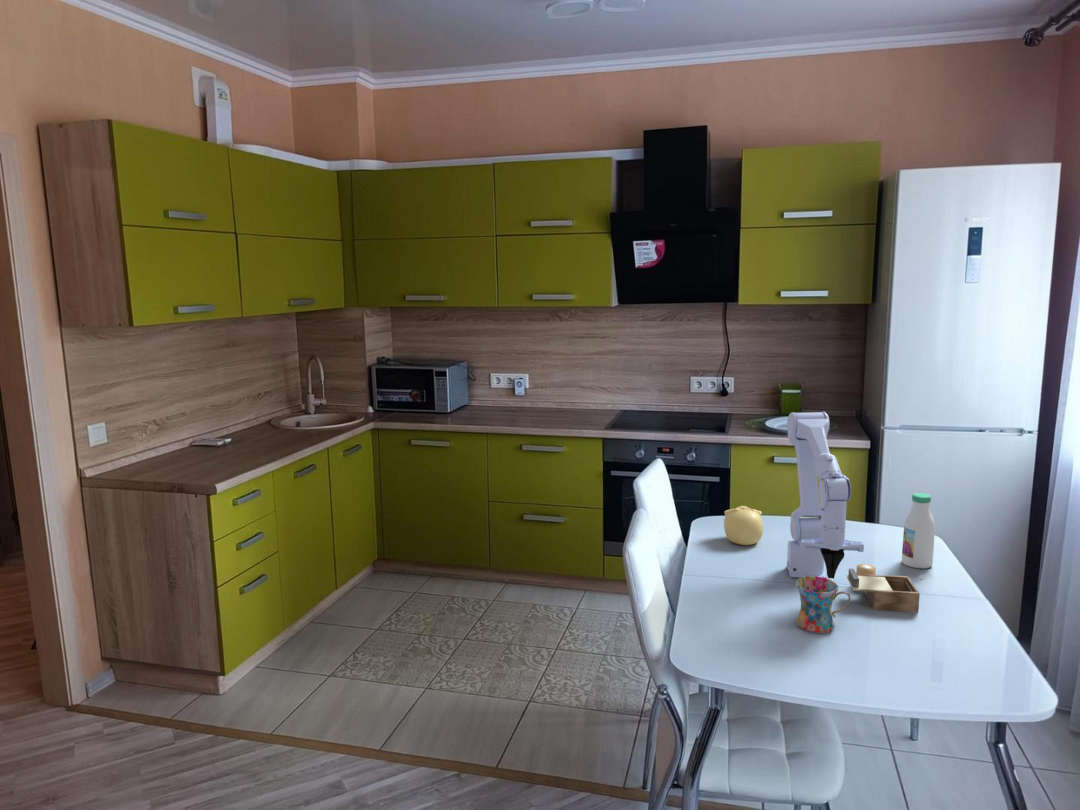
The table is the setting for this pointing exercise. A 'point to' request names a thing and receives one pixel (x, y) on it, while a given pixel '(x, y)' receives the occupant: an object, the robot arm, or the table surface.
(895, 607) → the wooden box
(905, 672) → the table surface
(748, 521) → the pale yellow round lump
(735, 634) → the table surface
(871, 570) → the roll-on deodorant
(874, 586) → the lid
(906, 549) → the milk bottle
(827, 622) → the mug
